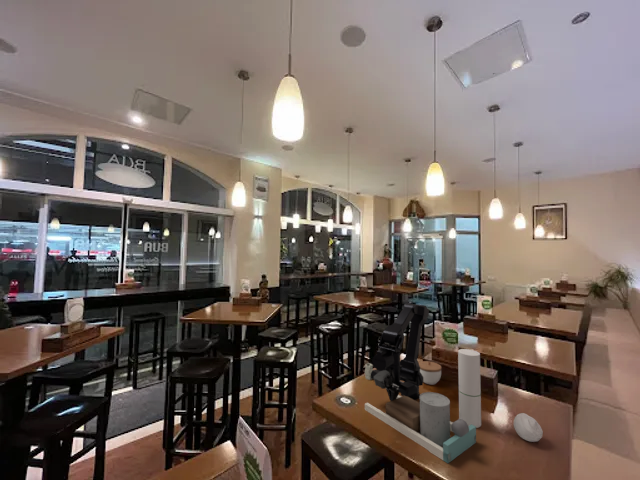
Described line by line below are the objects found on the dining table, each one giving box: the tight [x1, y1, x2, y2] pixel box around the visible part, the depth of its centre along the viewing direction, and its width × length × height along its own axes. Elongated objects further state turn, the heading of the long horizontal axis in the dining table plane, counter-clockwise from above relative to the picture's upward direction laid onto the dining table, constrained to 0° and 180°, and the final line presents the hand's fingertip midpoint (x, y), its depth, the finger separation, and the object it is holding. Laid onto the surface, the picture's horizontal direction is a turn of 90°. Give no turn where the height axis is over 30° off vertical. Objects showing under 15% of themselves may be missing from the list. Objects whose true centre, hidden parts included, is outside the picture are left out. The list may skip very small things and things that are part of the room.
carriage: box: [385, 395, 420, 433], centre depth 105 cm, size 11×12×5 cm
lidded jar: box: [418, 360, 442, 385], centre depth 138 cm, size 11×11×9 cm
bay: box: [364, 394, 477, 464], centre depth 102 cm, size 16×36×9 cm, turn 35°
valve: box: [364, 363, 374, 381], centre depth 139 cm, size 7×7×12 cm
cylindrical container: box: [457, 348, 482, 429], centre depth 105 cm, size 7×7×25 cm
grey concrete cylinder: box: [419, 391, 451, 447], centre depth 97 cm, size 10×10×12 cm
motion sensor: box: [513, 412, 544, 443], centre depth 95 cm, size 8×8×8 cm
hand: (392, 403), depth 111 cm, fingers closed
